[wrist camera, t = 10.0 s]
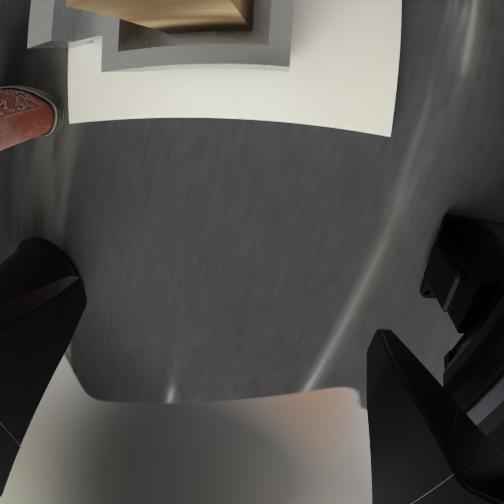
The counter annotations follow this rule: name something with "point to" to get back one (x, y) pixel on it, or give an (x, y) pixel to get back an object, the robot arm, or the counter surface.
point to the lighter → (27, 114)
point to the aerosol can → (32, 269)
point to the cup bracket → (166, 39)
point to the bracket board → (265, 76)
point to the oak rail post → (176, 13)
